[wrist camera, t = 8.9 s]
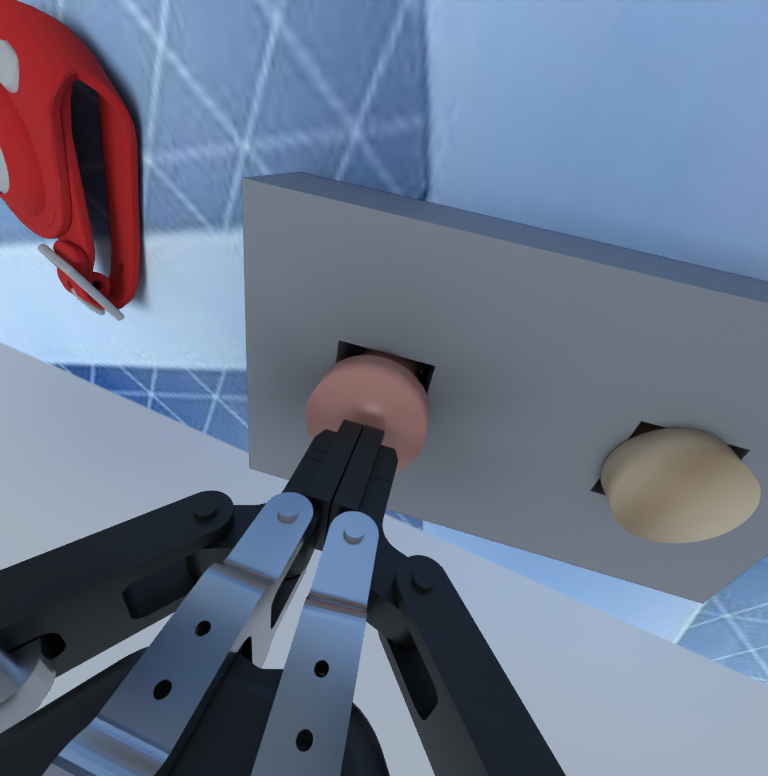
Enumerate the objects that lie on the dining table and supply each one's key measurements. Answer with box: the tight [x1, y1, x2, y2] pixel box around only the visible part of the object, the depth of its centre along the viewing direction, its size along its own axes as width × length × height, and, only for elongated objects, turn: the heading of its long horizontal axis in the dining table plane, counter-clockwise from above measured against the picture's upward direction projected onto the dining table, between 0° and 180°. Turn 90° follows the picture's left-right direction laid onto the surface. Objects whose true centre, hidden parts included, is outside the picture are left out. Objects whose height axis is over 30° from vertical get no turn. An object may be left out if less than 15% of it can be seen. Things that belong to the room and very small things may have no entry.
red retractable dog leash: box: [0, 0, 140, 321], centre depth 18 cm, size 12×4×10 cm
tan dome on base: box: [600, 421, 761, 543], centre depth 16 cm, size 5×5×6 cm
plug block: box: [242, 172, 768, 604], centre depth 18 cm, size 24×14×5 cm, turn 79°
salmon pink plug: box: [305, 347, 430, 471], centre depth 16 cm, size 5×5×6 cm
